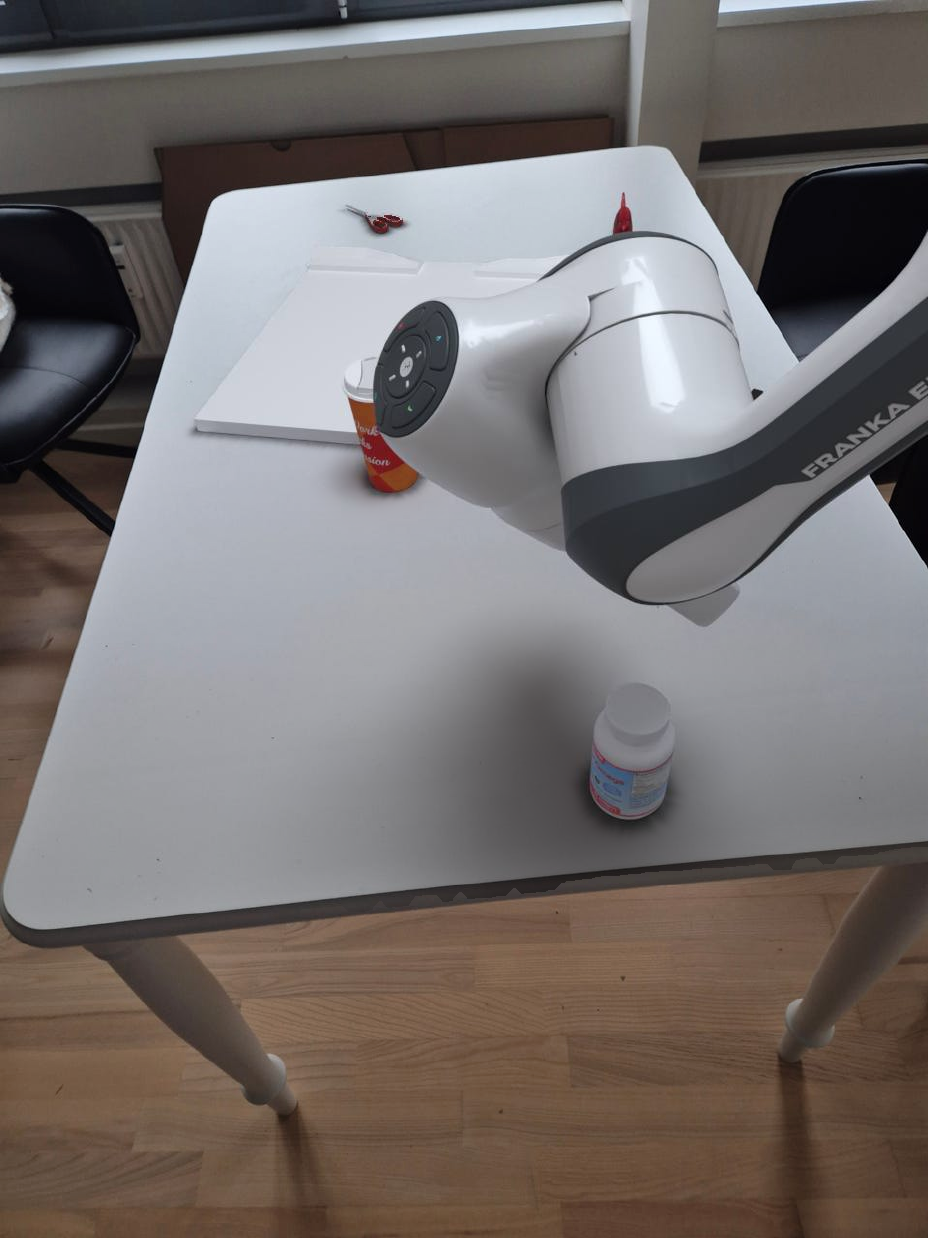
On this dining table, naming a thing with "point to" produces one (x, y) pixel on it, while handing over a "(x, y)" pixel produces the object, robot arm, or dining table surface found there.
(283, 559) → the dining table surface
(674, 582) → the robot arm
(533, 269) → the tray
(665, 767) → the pill bottle
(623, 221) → the decorative bird figurine
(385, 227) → the scissors
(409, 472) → the paper cup
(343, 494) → the dining table surface
